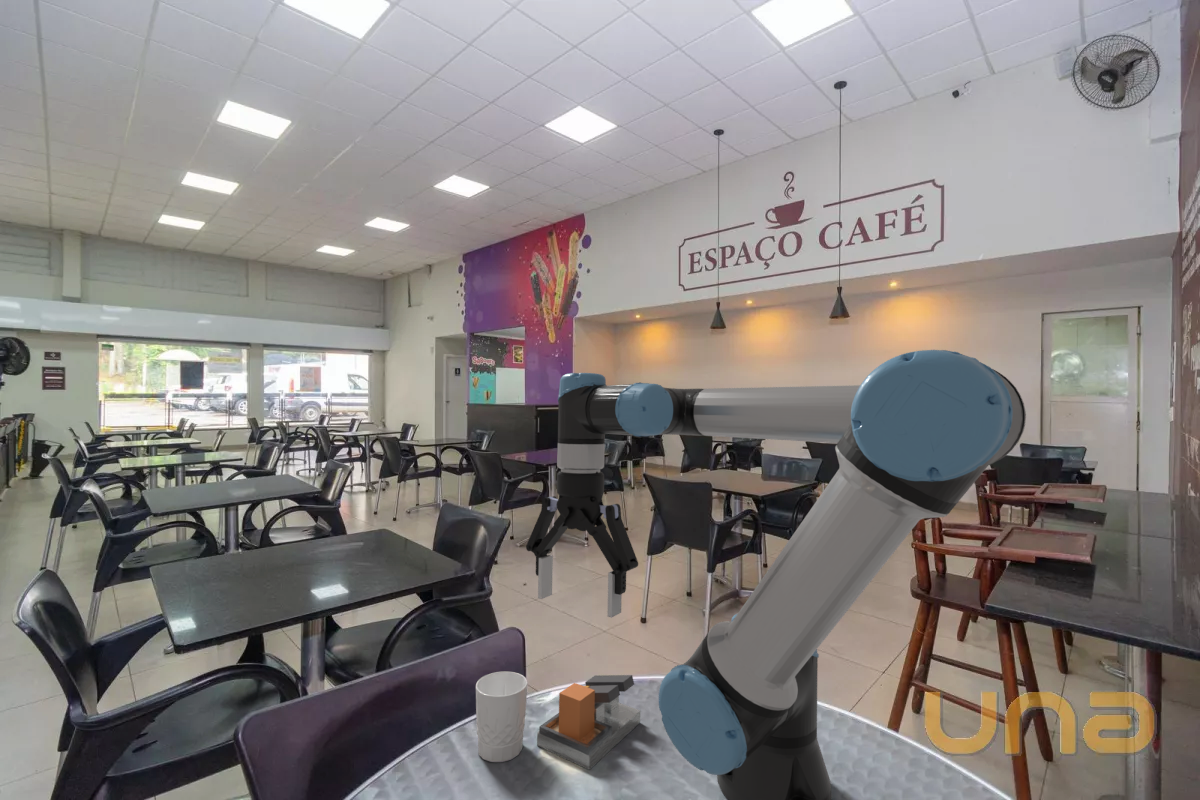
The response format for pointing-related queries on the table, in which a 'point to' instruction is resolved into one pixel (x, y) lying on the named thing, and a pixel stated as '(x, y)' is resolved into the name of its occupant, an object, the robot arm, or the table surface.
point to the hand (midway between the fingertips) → (578, 605)
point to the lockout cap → (576, 711)
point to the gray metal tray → (591, 734)
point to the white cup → (500, 715)
